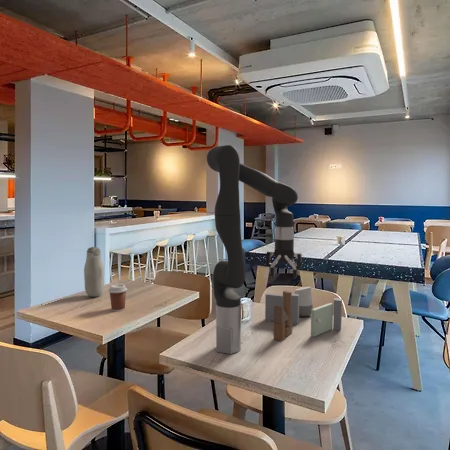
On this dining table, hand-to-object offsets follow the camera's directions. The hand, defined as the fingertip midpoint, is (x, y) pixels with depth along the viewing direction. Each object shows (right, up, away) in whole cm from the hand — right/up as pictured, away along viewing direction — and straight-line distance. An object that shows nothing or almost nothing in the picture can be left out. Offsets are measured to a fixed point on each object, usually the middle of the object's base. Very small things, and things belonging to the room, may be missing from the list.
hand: (283, 277), depth 156 cm
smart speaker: (+13, -22, +29) cm, 39 cm away
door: (+17, -24, +6) cm, 30 cm away
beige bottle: (-97, -19, +61) cm, 116 cm away
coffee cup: (-77, -21, +38) cm, 89 cm away
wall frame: (+11, -23, +16) cm, 30 cm away
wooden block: (0, -25, +2) cm, 25 cm away
